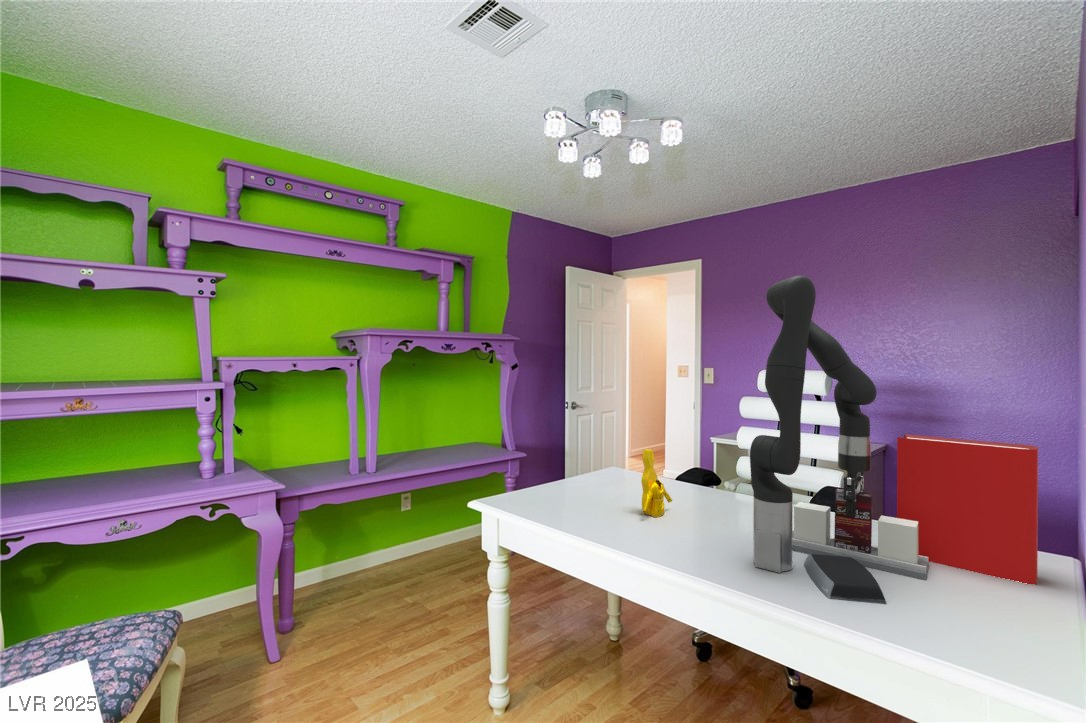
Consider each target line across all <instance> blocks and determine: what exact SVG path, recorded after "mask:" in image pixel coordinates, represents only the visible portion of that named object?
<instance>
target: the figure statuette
mask: <svg viewBox="0 0 1086 723" xmlns="http://www.w3.org/2000/svg"><path fill="white" fill-rule="evenodd" d="M642 463H643V466H644V469H643V472H642V475H641V487H642V495H641V496H642V497H641V509H642V513H643V514H644V515H649V516H652V517H653V518H661V516H662V517H663V515H664V514H665V501H664V498H665V499H666V501H667V503H672V502H673V499H672V497H671V495H670V494H669V493H668V492H667V490H666V488H665V486H664V485H665V484H664V483H663V482H662V481H660V479H659V478H658V475H657V472H656V471H655V468H654V464H655V454H654V450H653V449H647V448H646V449H643V451H642Z"/></svg>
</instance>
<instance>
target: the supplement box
mask: <svg viewBox="0 0 1086 723" xmlns="http://www.w3.org/2000/svg"><path fill="white" fill-rule="evenodd" d="M834 494H835V496H834V498H835V499H834V501H835V502H834V537H833V538H834V547H836V548H841V549H846V550H851V551H855V552H860V553H865V554H870V555H871V546H872V540H873V539H872V535H873V534H872V533H873V532H872V531H873V529H872V528H873V523H872V522H873V493H872V492H865V491H863V492H860V493H859V495H857V501H856V515H855V516H854V517H852V516H847V515H846V501H845V500H844V499H843V496H844V489H841V488H840V489H839V488H835V493H834ZM848 496H852V494H848Z"/></svg>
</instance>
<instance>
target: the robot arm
mask: <svg viewBox="0 0 1086 723" xmlns="http://www.w3.org/2000/svg"><path fill="white" fill-rule="evenodd" d="M816 293H817V292H816V288H815V285H814V282H813V281H812V280H811V279H810V278H809V277H808V276H805V275H794V276H791V277H789V278H786V279H783V280H780V281H777V282H775V283H772V284H771V285H770V287H768V290H767V292H766V298H765V299H766V302H767V305H768V306H769V308H770V309H771V311H772V312H773V313H774V314H775V315H776V317H778V318H779V319H780V320H781V321H782V325H781V329H780V332H779V334H778V337H777V338H776V341H775V342H774V344H773V346H772V348H771V350H770V352H769V354H768V358H767V359H766V360H767V361H766V367H765V376H764V386H765V391H766V393H767V395H768V397H769V399H770V401H771V402H772V405H773V407H774V408H775V411H776V413H777V416H778V420H779V436H774V435H767V434H760V435H757V436H755V437H754V439H753V440H752V442H751V445H750V449H749V463H750V483H751V487H752V488H751V489H752V491H753V492H752V493H753V517H752V518H753V520H752V521H753V533H752V534H753V536H752V537H753V539H752V540H753V543H752V544H753V555H752V557H753V560H752V561H753V564H754V567H755V568H760V569H762V570H768V571H770V572H775V573H780V574H781V573H782V572H788V571H791V570H792V569H793V550H792V531H793V513H794V506H793V504H794V502H793V501H794V500H793V490H792V488H791V487H789V486H788V485H786V484H784V483H783V482H782V481H781V480H779V479H778V477H777V476H776V474H779V475H785V476H792V475H793V474H795V473H796V472H797V471H798V467H799V465H800V460H801V449H802V448H801V446H802V443H801V439H802V438H801V434H802V433H801V430H802V429H801V424H802V423H801V422H802V421H801V420H802V418H801V416H802V415H801V414H802V405H803V404H802V402H803V393H804V385H805V375H806V367H807V365H806V363H807V362H806V360H807V352H808V351H809V352H810V353H811V355H812V356H813V358H814V359H815V361H816V362H817V364H818V365H819V366H820V368H821V370H822V371H823V372H824V373H825V375H826V376H827V377H829V378H830V379H832V380H836V381H837V383H836V384H835V386H834V390H833V399H834V403H835V408H836V411H837V415H838V418H839V436H838V440H837V441H838V444H837V456H838V457H837V467H838V468H839V469H840V470H842V471H846V474H845V475H846V476H844V477H843V490H844V496H843V499H844V500H845V501H846V515H847V516H852V517H854V516H855V515H856V501H857V495H859V493H860V492H865V489H864V488H865V487H864V485H865V484H864V481H865V480H864V474H865V473H869V472H870V471H871V469H872V468H871V467H872V464H871V463H872V461H871V460H872V443H871V437H870V436H871V421H870V417H869V415H866V414H865V413H863V412H862V410H861V406H867V405H871V404H872V403H874V401H875V400H876V398H877V396H878V395H877V392H878V391H877V387H876V384H875V382H874V381H873V380H872V379H871V378H870V376H869V375H867V374H866V373H865V372H864V371H863V370H862V369H861V368H860V367H859V366H857V365H856V364H855V363H854V362H853V361H852V360H851V358H850V357H849V355H848V354H847V352H846V350H845V349H844V348H843V346H842V345H841V344H840V342H839V341H838V340H837V339H836V338H835V337H834V336H832V334H830V333H829V332H827V331H826V330H824V329H823V328H822V327H820V326H819V325H818V324H816V323H815V322H814V321H813V320H812V319H813V315H814V314H813V313H814V309H815V304H816V296H817V295H816ZM807 350H808V351H807ZM848 494H852V496H848Z"/></svg>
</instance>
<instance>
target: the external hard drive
mask: <svg viewBox="0 0 1086 723" xmlns="http://www.w3.org/2000/svg"><path fill="white" fill-rule="evenodd" d="M803 567H804V568H805V571H806V573H807V574H808V576H809V577H810V579H811V581H812V582H813V583H814V585H816V587H817V588H818V590H820V592H821V593H822V594H823V595H824V596H825V597H826V598H827V599H829V600H839V601H840V600H841V601H848V602H849V601H851V602H859V603H860V602H861V603H871V604H881V605H882V604H883V605H887V601H886V598H885V595H884V593H883V591H882V589H881V586H880V584H879V582H878V581H877V579H876V578H875V577H874V576H873V574H872V573H871V572H870V571H869V570H868V569H867V567H865V566H863V565H862V564H860V563H859V562H858V561H856V560H855V559H853V558H852V557H844V556H830V555H818V554H807V557H806V558H805V560H804V563H803Z"/></svg>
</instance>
